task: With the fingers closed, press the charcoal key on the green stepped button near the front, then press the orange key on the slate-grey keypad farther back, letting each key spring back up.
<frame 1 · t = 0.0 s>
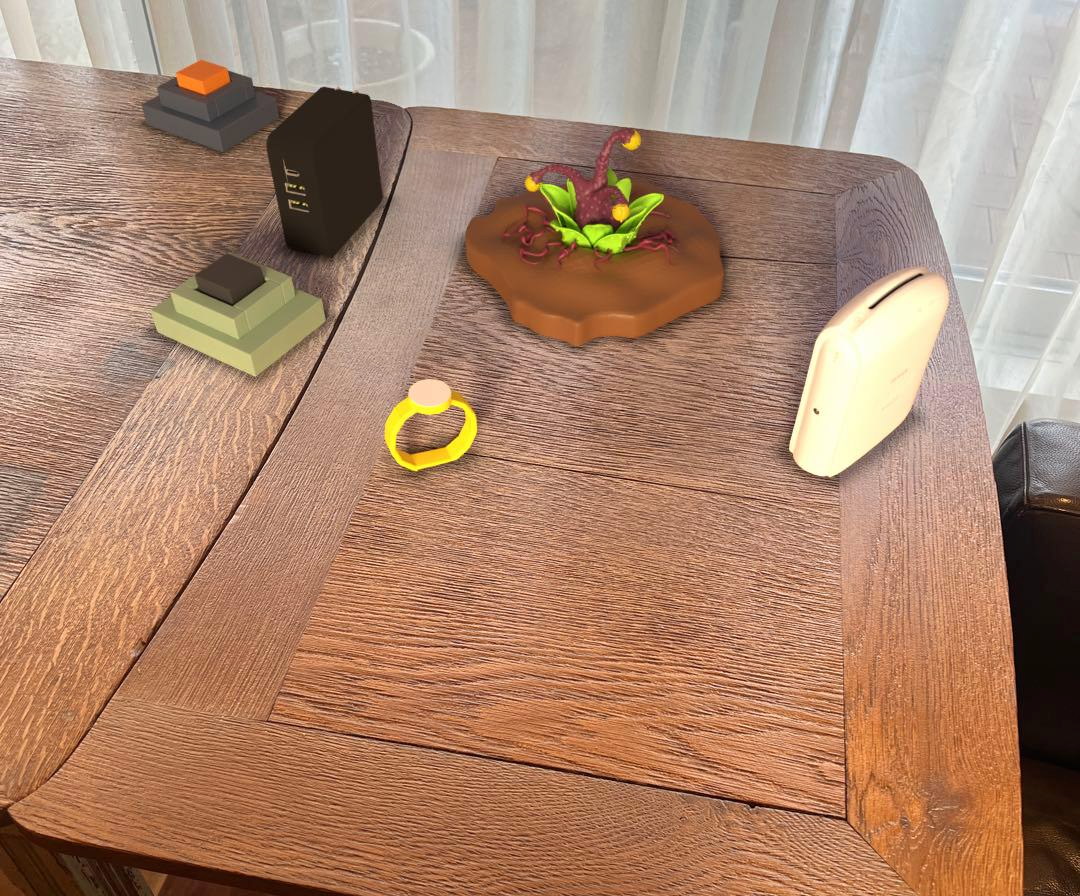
plant: (598, 267, 85), on the table
key b: (203, 78, 98), point 4 cm above the table, slide at 0.1 cm
keypad b: (214, 122, 101), on the table
key a: (230, 279, 76), point 4 cm above the table, slide at 0.1 cm
electronic device: (337, 228, 89), on the table
green stepped button: (242, 328, 79), on the table
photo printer: (847, 439, 72), on the table
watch: (434, 462, 70), on the table
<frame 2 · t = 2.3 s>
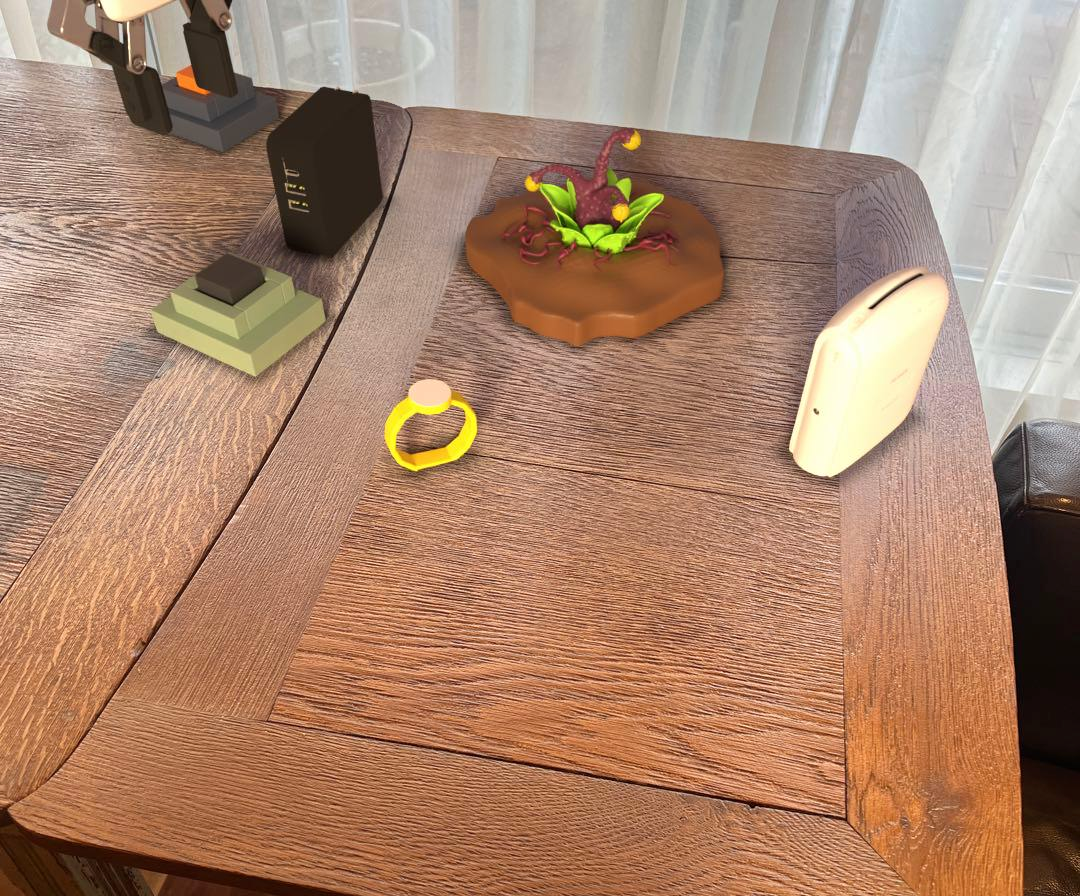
hand: (185, 106, 66), 17 cm above the table, tool pointing down, fingers open, 5 cm apart
nothing on the table moved.
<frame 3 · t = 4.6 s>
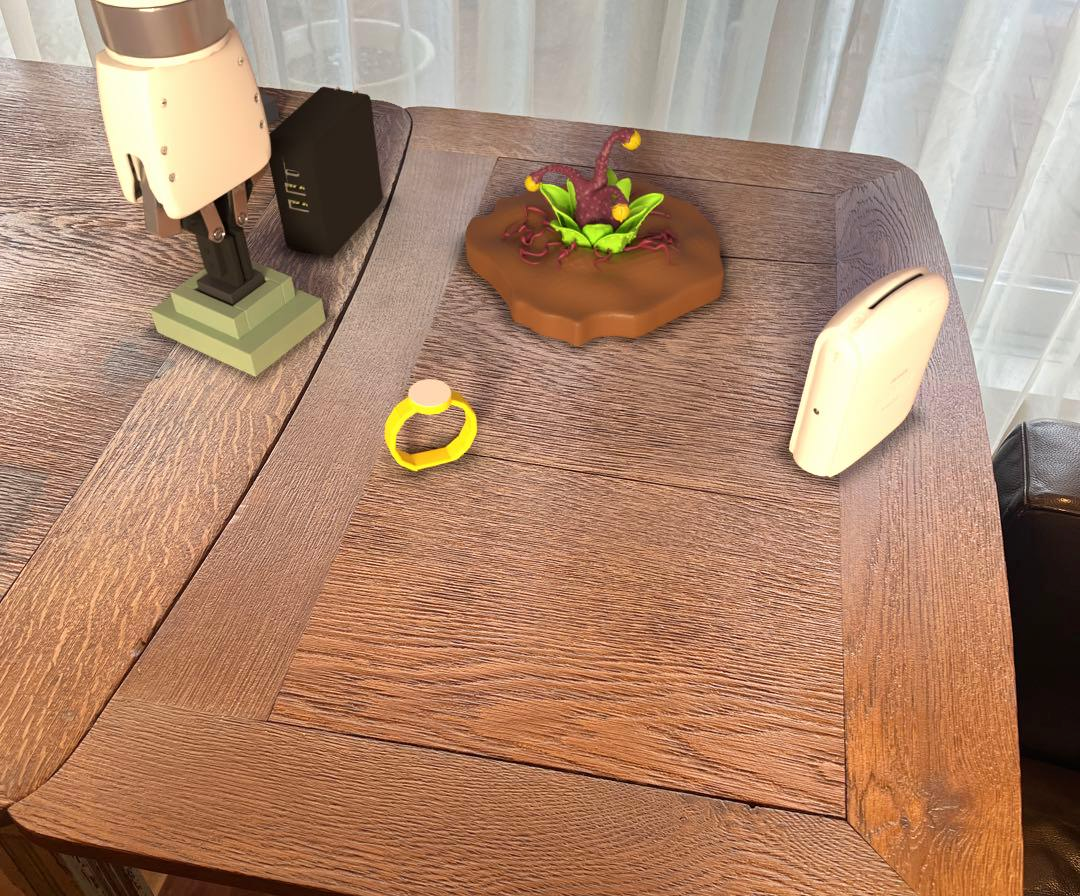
hand: (231, 276, 76), 5 cm above the table, tool pointing down, fingers closed
key a: (231, 285, 76), point 4 cm above the table, slide at -0.4 cm, touching gripper
everything else where it was.
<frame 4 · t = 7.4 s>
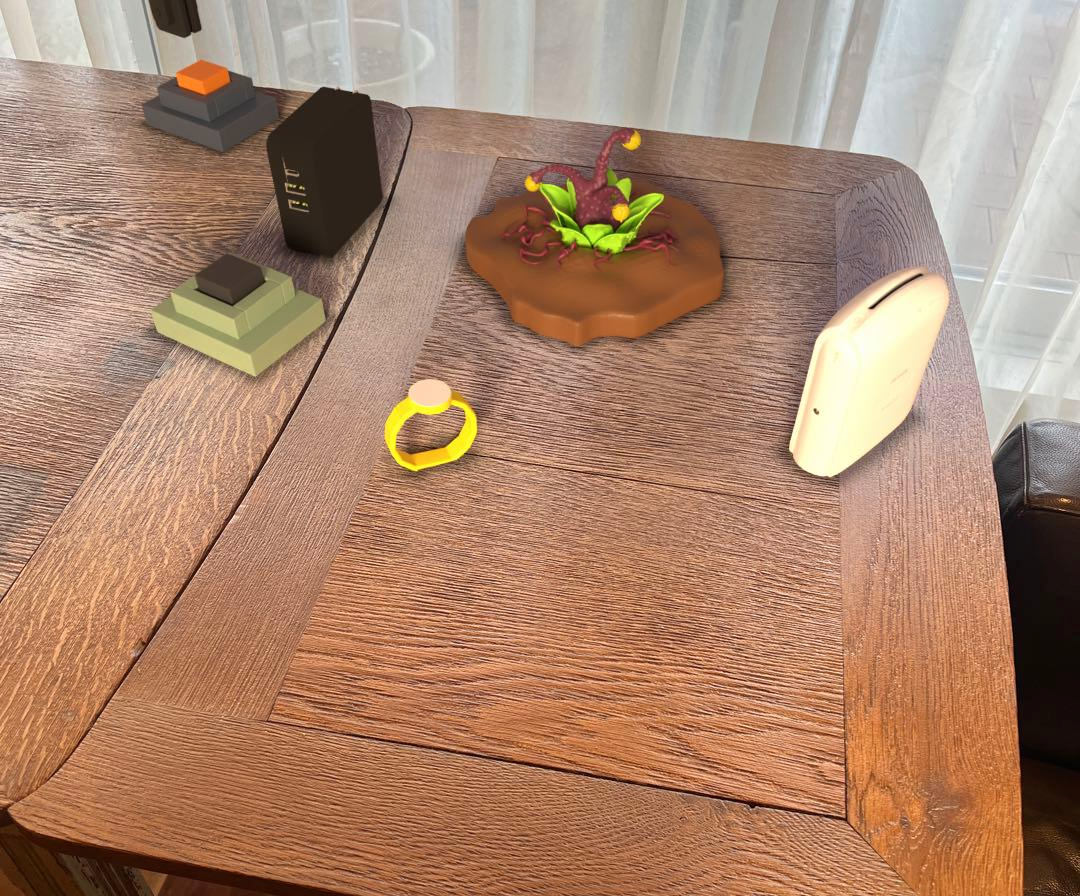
hand: (179, 29, 77), 16 cm above the table, tool pointing down, fingers closed
key a: (230, 279, 76), point 4 cm above the table, slide at 0.1 cm
everything else where it was.
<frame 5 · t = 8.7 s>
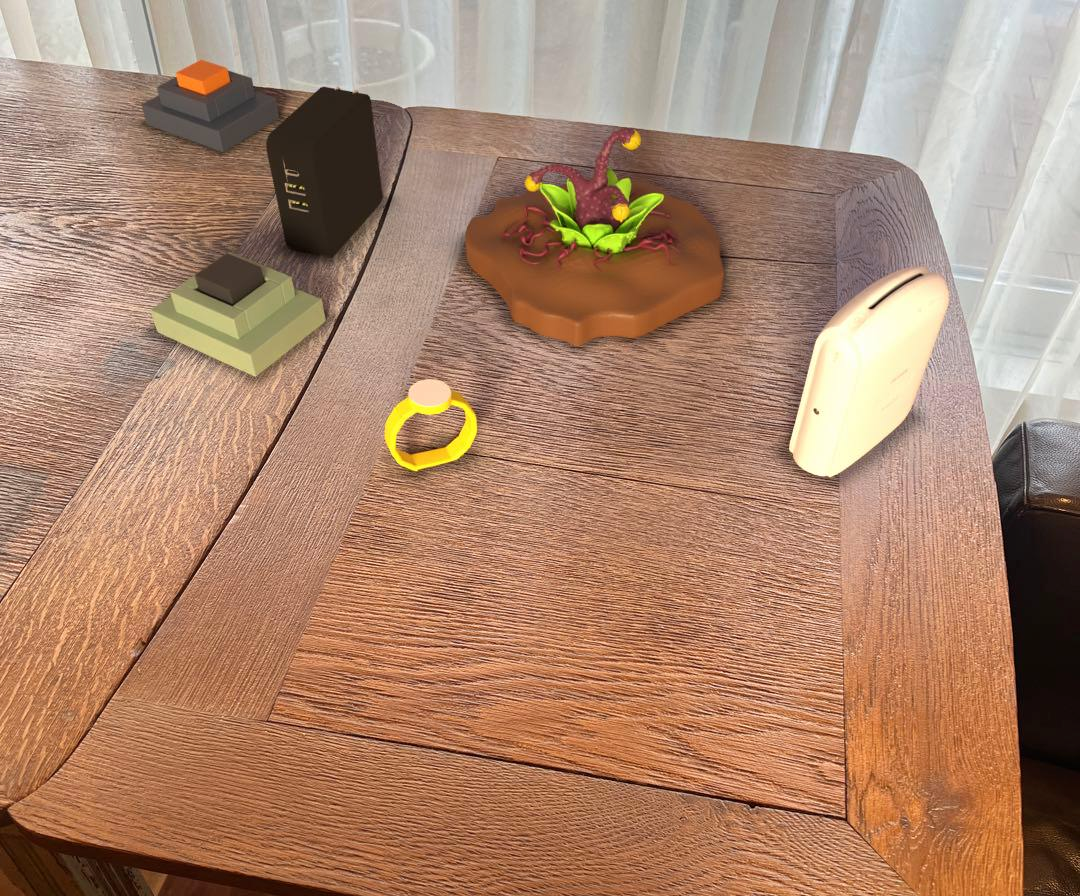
nothing on the table moved.
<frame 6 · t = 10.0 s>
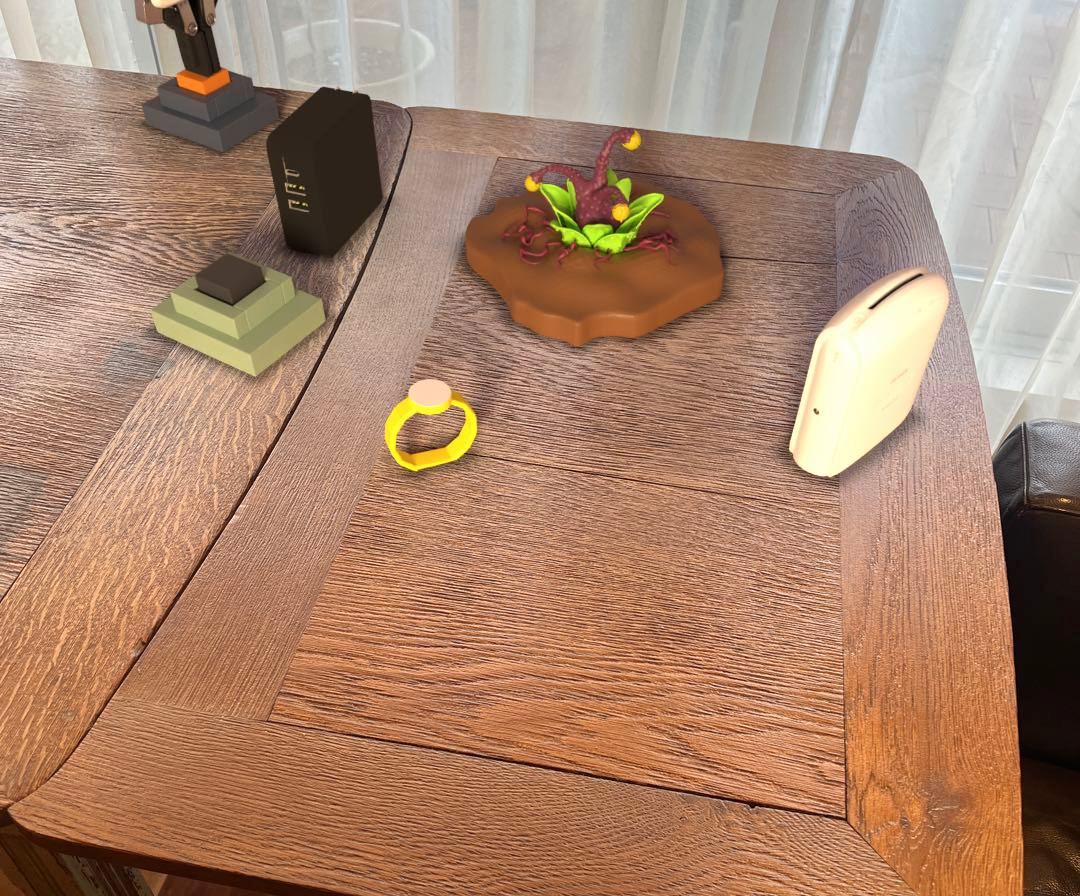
hand: (203, 70, 97), 5 cm above the table, tool pointing down, fingers closed
key b: (203, 79, 98), point 4 cm above the table, slide at 0.0 cm, touching gripper
everything else where it was.
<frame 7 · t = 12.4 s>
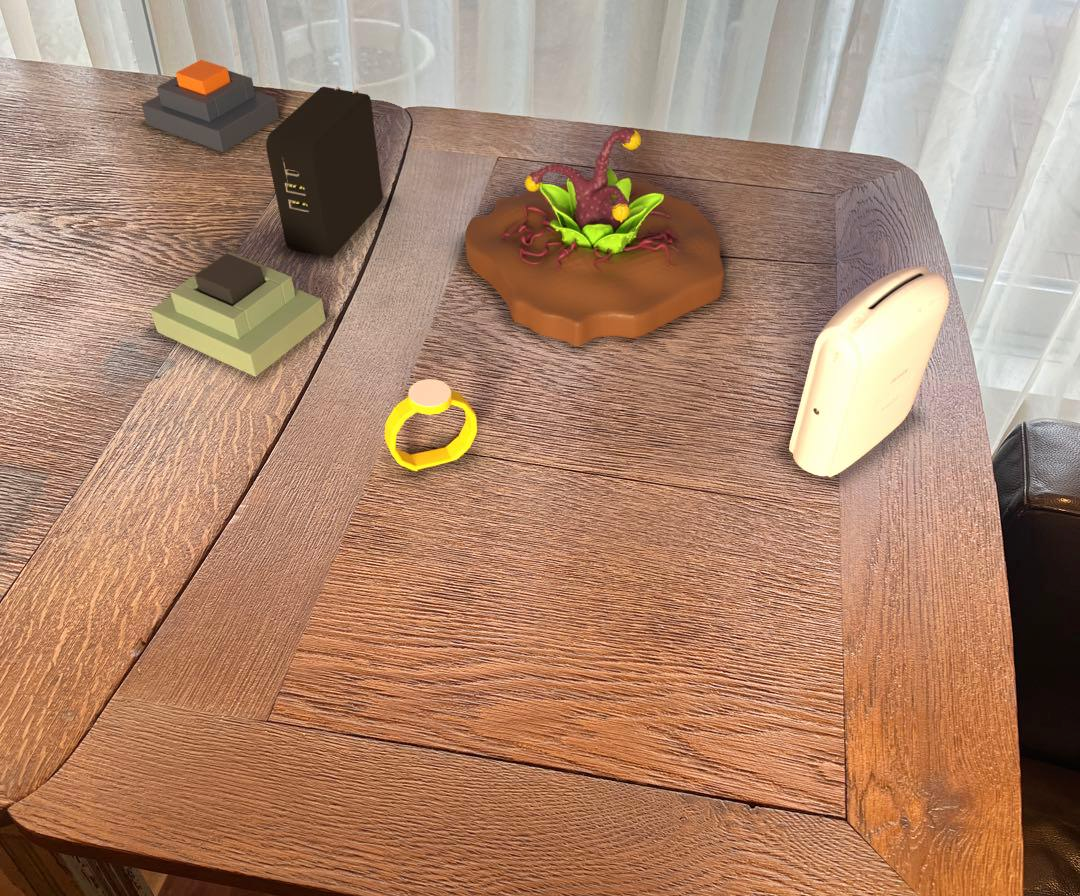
key b: (203, 78, 98), point 4 cm above the table, slide at 0.1 cm
everything else where it was.
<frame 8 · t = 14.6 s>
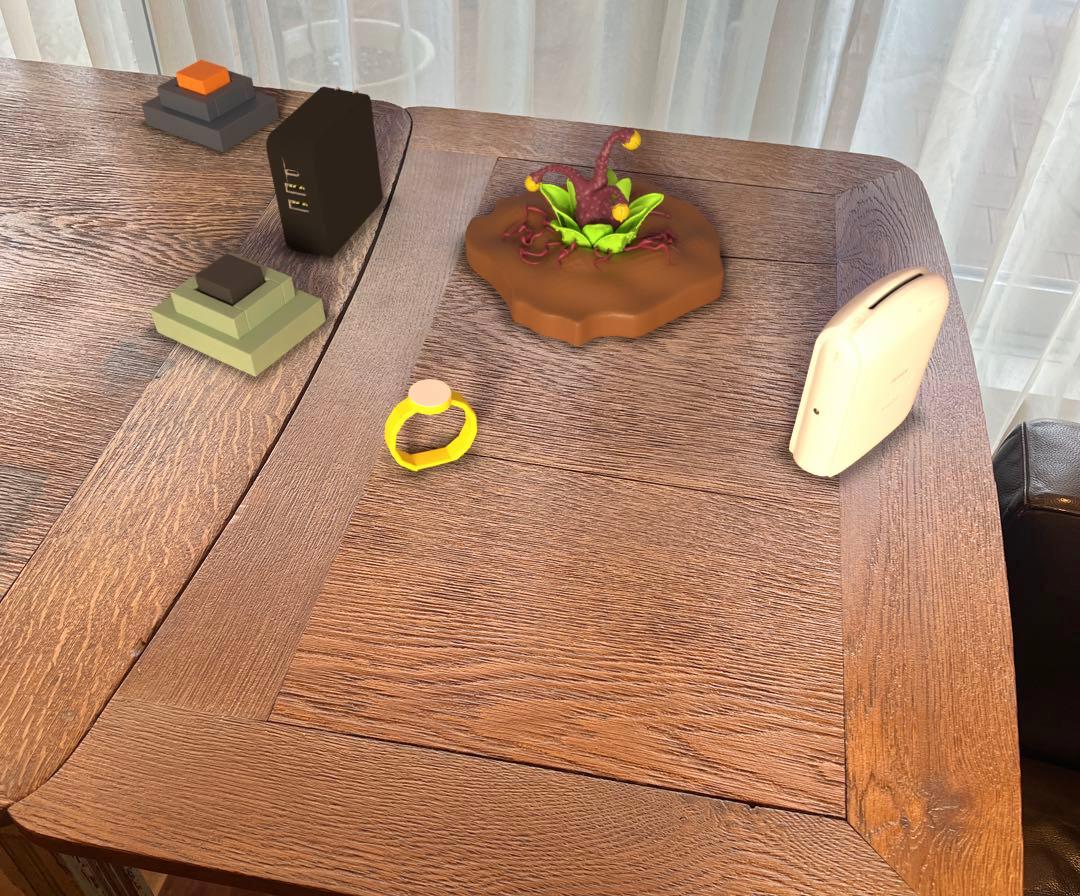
nothing on the table moved.
at the end: key a pushed in 1.1 cm at the most during the clip, back to where it started at the end; key b pushed in 1.1 cm at the most during the clip, back to where it started at the end; key b slide at 0.1 cm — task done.
